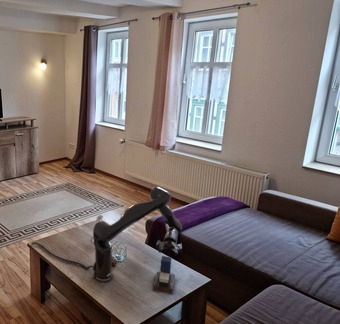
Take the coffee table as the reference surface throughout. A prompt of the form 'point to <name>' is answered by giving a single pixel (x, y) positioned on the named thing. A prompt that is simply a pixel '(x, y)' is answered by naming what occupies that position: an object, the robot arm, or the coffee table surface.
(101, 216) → the female figurine
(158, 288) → the wooden base with rails
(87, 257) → the coffee table surface
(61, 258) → the robot arm
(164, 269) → the blue rectangular block
